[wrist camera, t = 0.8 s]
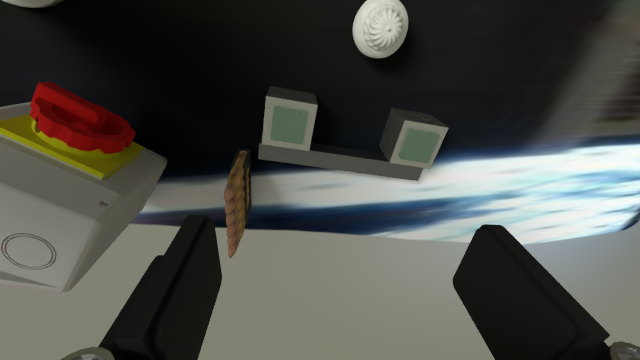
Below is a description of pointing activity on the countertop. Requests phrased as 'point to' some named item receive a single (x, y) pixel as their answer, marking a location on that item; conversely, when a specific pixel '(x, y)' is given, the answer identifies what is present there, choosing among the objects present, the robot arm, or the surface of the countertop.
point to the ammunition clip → (238, 198)
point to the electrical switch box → (66, 187)
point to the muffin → (380, 27)
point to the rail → (296, 147)
